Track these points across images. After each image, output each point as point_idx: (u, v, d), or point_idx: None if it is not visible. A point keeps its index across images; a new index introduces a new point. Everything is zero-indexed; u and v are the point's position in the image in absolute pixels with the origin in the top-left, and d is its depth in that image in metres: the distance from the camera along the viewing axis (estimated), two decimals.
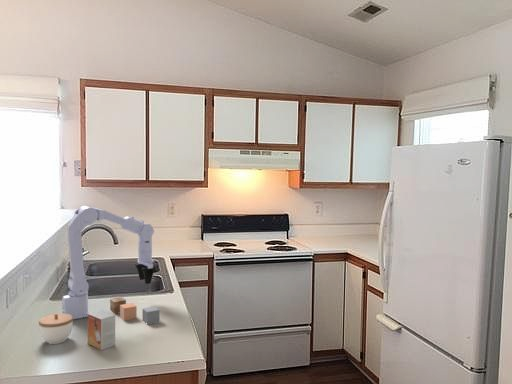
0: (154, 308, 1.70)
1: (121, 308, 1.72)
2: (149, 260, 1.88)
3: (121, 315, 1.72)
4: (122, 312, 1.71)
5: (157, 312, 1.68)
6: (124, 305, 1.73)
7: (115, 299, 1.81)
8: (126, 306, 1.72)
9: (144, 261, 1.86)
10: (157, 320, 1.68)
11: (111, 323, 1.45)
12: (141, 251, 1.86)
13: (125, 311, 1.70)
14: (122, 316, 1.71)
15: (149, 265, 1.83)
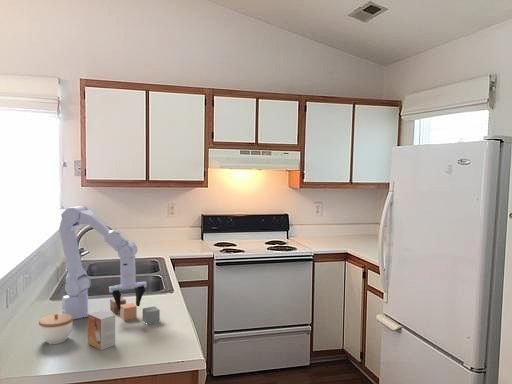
0: (154, 308, 1.70)
1: (121, 308, 1.72)
2: (122, 284, 1.70)
3: (121, 315, 1.72)
4: (122, 312, 1.71)
5: (157, 312, 1.68)
6: (124, 305, 1.73)
7: None
8: (126, 306, 1.72)
9: (120, 284, 1.72)
10: (157, 320, 1.68)
11: (111, 323, 1.45)
12: None
13: (125, 311, 1.70)
14: (122, 316, 1.71)
15: (109, 288, 1.69)
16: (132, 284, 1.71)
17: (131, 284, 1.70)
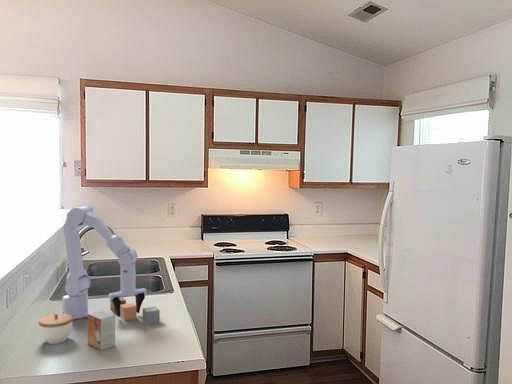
0: (154, 308, 1.70)
1: (121, 308, 1.72)
2: (122, 291, 1.70)
3: (121, 315, 1.72)
4: (122, 312, 1.71)
5: (157, 312, 1.68)
6: (124, 305, 1.73)
7: None
8: (126, 306, 1.72)
9: (120, 291, 1.72)
10: (157, 320, 1.68)
11: (111, 323, 1.45)
12: None
13: (125, 311, 1.70)
14: (122, 316, 1.71)
15: (109, 295, 1.69)
16: (132, 291, 1.71)
17: (131, 291, 1.71)
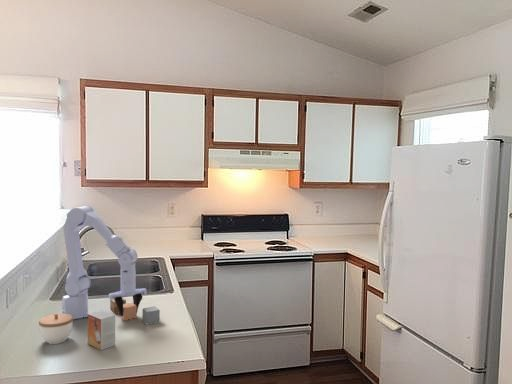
0: (154, 308, 1.70)
1: None
2: (122, 291, 1.70)
3: None
4: None
5: (157, 312, 1.68)
6: (124, 305, 1.73)
7: None
8: (126, 306, 1.72)
9: (120, 291, 1.72)
10: (157, 320, 1.68)
11: (111, 323, 1.45)
12: None
13: (125, 311, 1.70)
14: (122, 316, 1.71)
15: (109, 295, 1.69)
16: (132, 291, 1.71)
17: (131, 291, 1.71)
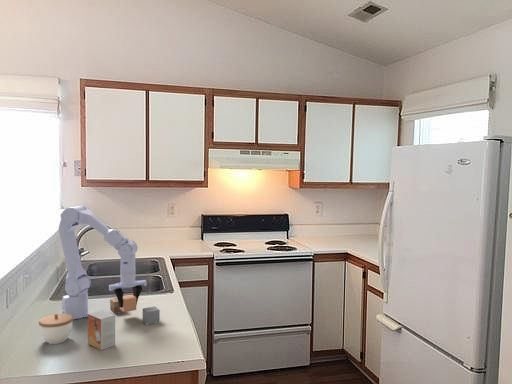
0: (154, 308, 1.70)
1: None
2: (122, 283, 1.70)
3: None
4: None
5: (157, 312, 1.68)
6: (124, 296, 1.73)
7: (115, 299, 1.81)
8: (126, 297, 1.72)
9: (120, 282, 1.72)
10: (157, 320, 1.68)
11: (111, 323, 1.45)
12: None
13: (124, 302, 1.70)
14: (122, 307, 1.71)
15: (109, 286, 1.69)
16: (132, 282, 1.71)
17: (131, 282, 1.70)
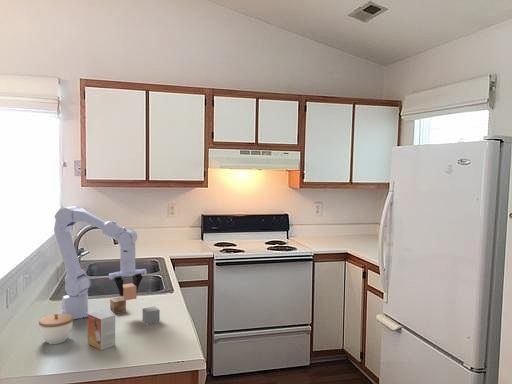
0: (154, 308, 1.70)
1: None
2: (122, 271, 1.70)
3: None
4: None
5: (157, 312, 1.68)
6: (124, 285, 1.73)
7: (115, 299, 1.81)
8: (126, 286, 1.71)
9: (120, 271, 1.72)
10: (157, 320, 1.68)
11: (111, 323, 1.45)
12: None
13: (124, 290, 1.69)
14: (122, 296, 1.71)
15: (109, 275, 1.69)
16: (132, 271, 1.70)
17: (131, 271, 1.70)
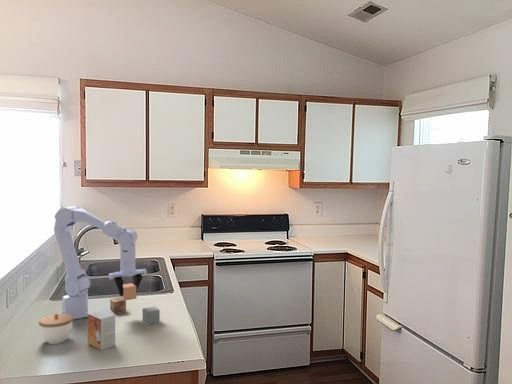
0: (154, 308, 1.70)
1: None
2: (122, 271, 1.70)
3: None
4: None
5: (157, 312, 1.68)
6: (124, 285, 1.73)
7: (115, 299, 1.81)
8: (126, 286, 1.71)
9: (120, 271, 1.72)
10: (157, 320, 1.68)
11: (111, 323, 1.45)
12: None
13: (124, 290, 1.69)
14: (122, 296, 1.71)
15: (109, 275, 1.69)
16: (132, 271, 1.70)
17: (131, 271, 1.70)
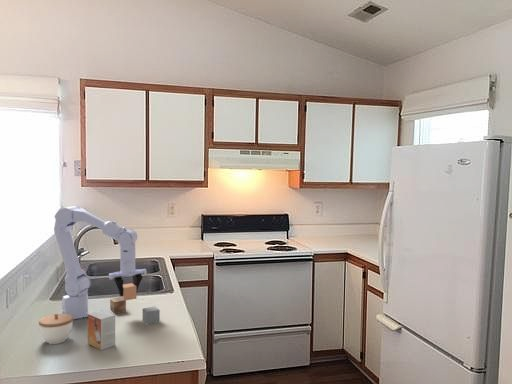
0: (154, 308, 1.70)
1: None
2: (122, 271, 1.70)
3: None
4: None
5: (157, 312, 1.68)
6: (124, 285, 1.73)
7: (115, 299, 1.81)
8: (126, 286, 1.71)
9: (120, 271, 1.72)
10: (157, 320, 1.68)
11: (111, 323, 1.45)
12: None
13: (124, 290, 1.69)
14: (122, 296, 1.71)
15: (109, 275, 1.69)
16: (132, 271, 1.70)
17: (131, 271, 1.70)
